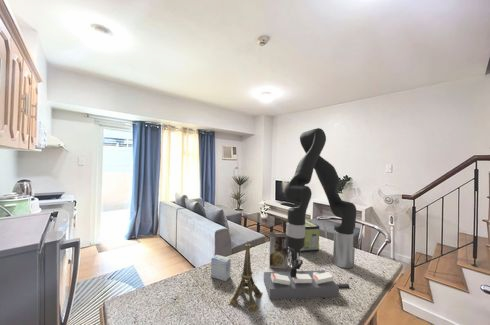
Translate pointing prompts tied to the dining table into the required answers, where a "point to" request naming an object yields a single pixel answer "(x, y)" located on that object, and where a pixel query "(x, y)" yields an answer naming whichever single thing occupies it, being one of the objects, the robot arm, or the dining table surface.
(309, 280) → the block
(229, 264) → the medicine box
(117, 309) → the dining table surface
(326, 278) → the rocker
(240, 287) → the eiffel tower
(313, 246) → the protein box
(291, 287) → the switch panel
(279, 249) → the coffee box
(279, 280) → the block
